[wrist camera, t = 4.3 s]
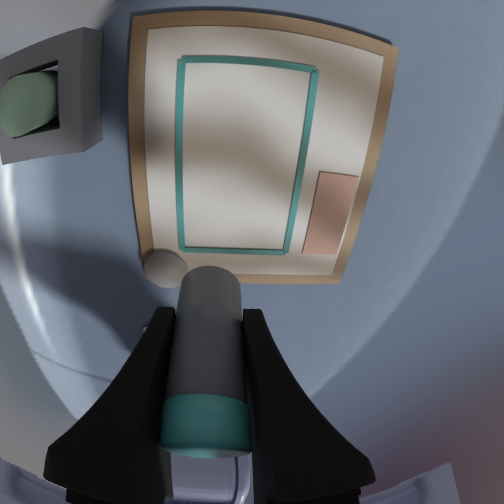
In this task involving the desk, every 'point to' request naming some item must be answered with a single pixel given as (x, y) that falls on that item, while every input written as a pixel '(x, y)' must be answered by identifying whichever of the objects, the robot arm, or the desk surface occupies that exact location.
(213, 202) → the framed board
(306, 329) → the desk surface
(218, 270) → the marker
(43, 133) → the button housing
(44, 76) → the button
